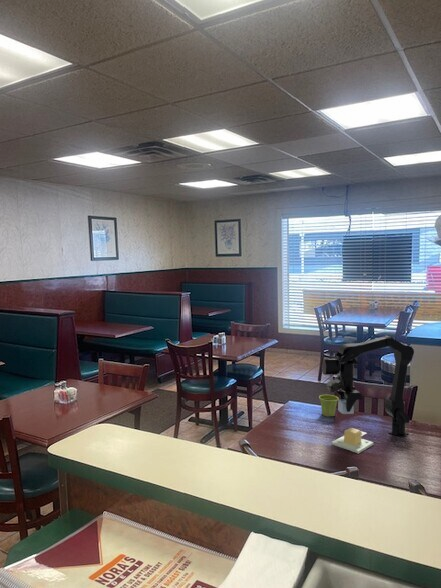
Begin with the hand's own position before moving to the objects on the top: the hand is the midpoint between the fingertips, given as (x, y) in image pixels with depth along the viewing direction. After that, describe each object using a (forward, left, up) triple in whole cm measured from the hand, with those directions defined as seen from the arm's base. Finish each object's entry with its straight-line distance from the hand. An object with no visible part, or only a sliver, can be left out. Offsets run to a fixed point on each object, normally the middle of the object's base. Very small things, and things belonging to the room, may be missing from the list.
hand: (345, 409), depth 188 cm
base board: (+6, +7, -12) cm, 15 cm away
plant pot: (-17, -19, -12) cm, 28 cm away
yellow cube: (+6, +7, -10) cm, 14 cm away
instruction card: (-6, +3, -12) cm, 13 cm away
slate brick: (0, 0, -1) cm, 1 cm away
